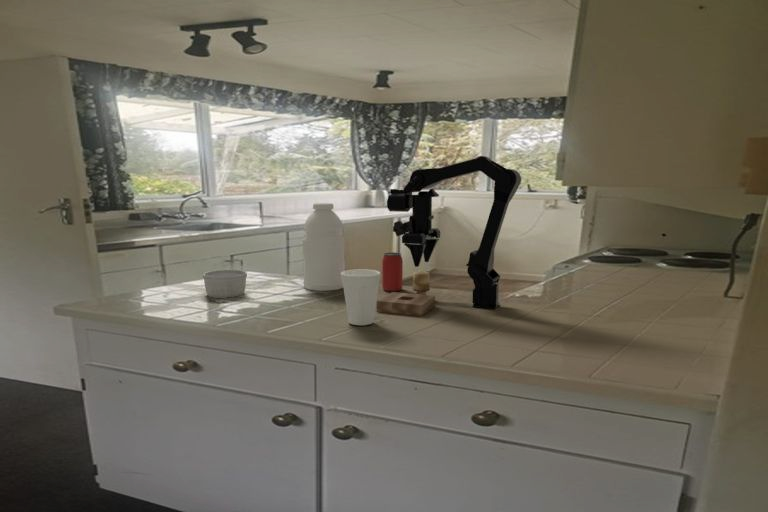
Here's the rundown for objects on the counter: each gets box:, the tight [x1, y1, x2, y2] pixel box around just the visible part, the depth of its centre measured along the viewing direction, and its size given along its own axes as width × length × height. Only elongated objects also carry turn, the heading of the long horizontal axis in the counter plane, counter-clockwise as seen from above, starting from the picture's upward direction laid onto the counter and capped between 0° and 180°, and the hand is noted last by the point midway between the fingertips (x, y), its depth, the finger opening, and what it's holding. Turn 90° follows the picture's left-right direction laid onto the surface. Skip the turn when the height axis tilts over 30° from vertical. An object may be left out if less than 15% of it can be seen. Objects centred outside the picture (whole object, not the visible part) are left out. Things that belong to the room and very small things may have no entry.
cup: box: [341, 268, 382, 326], centre depth 133 cm, size 10×10×13 cm
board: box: [376, 291, 436, 317], centre depth 148 cm, size 13×12×3 cm
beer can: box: [381, 252, 404, 293], centre depth 173 cm, size 7×7×12 cm
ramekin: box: [202, 269, 248, 299], centre depth 166 cm, size 13×13×7 cm
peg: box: [412, 271, 431, 295], centre depth 160 cm, size 5×5×8 cm
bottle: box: [302, 202, 346, 292], centre depth 176 cm, size 14×14×28 cm
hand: (421, 264), depth 159 cm, fingers open, 9 cm apart
